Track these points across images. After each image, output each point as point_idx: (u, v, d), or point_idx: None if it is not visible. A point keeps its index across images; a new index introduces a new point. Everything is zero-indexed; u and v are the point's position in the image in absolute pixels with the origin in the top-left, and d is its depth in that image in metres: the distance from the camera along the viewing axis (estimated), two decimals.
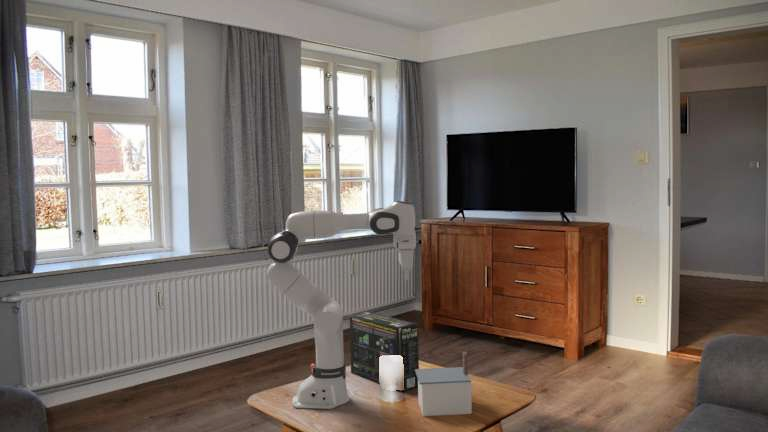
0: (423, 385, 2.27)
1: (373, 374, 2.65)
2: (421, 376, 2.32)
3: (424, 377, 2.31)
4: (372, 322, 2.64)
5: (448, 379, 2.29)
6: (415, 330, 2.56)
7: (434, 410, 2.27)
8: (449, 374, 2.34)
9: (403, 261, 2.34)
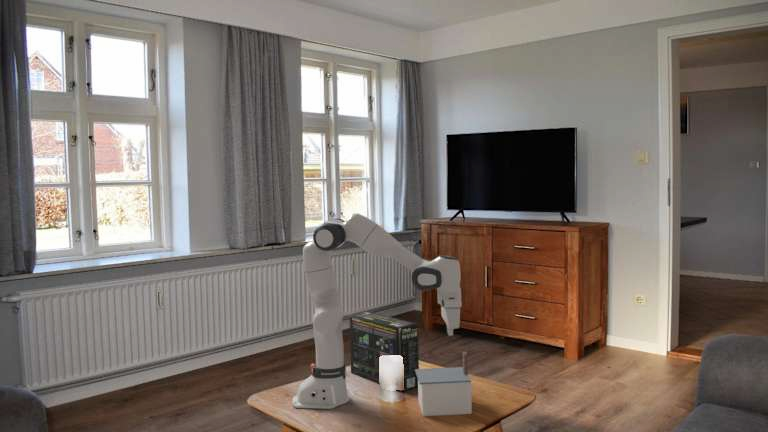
0: (423, 385, 2.27)
1: (373, 374, 2.65)
2: (421, 376, 2.32)
3: (424, 377, 2.31)
4: (372, 322, 2.64)
5: (448, 379, 2.29)
6: (415, 330, 2.56)
7: (434, 410, 2.27)
8: (449, 374, 2.34)
9: (450, 320, 2.23)
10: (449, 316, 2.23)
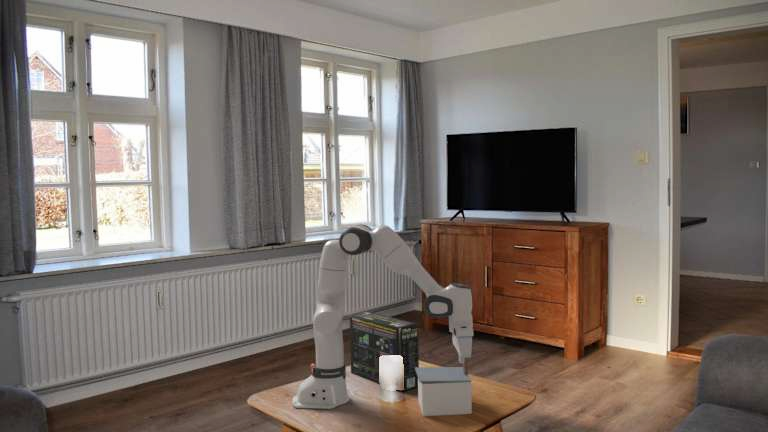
0: (423, 385, 2.27)
1: (373, 374, 2.65)
2: (421, 375, 2.32)
3: (424, 376, 2.31)
4: (372, 322, 2.64)
5: (448, 378, 2.29)
6: (415, 330, 2.56)
7: (434, 410, 2.27)
8: (449, 373, 2.34)
9: (462, 349, 2.24)
10: (461, 345, 2.24)
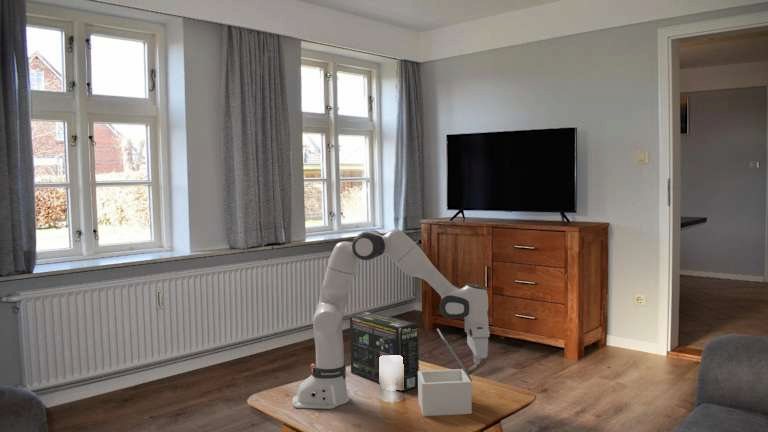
0: (423, 385, 2.27)
1: (373, 374, 2.65)
2: None
3: (445, 341, 2.31)
4: (372, 322, 2.64)
5: None
6: (415, 330, 2.56)
7: (434, 410, 2.27)
8: None
9: (478, 350, 2.24)
10: (477, 346, 2.24)
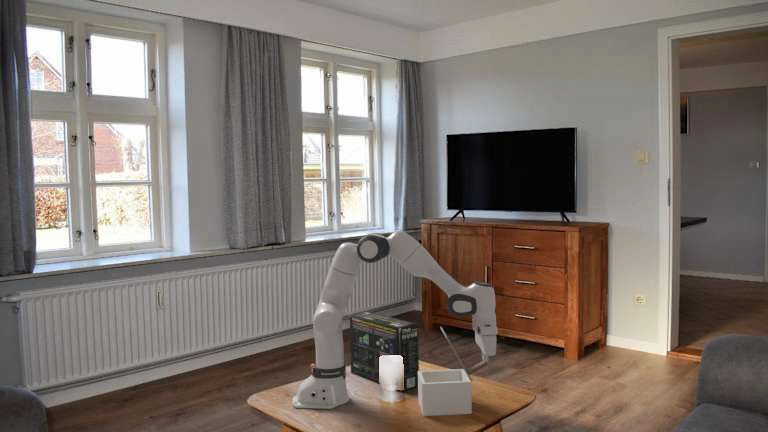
0: (423, 385, 2.27)
1: (373, 374, 2.65)
2: None
3: (448, 339, 2.31)
4: (372, 322, 2.64)
5: None
6: (415, 330, 2.56)
7: (434, 410, 2.27)
8: None
9: (486, 348, 2.24)
10: (486, 343, 2.25)
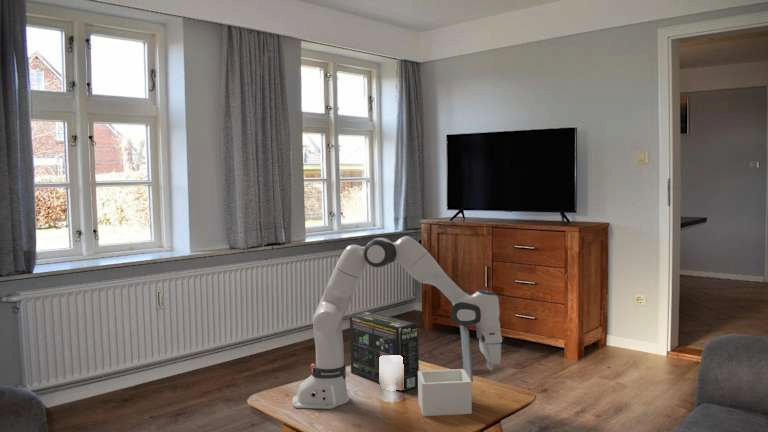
0: (423, 385, 2.27)
1: (373, 374, 2.65)
2: (465, 330, 2.32)
3: (466, 334, 2.31)
4: (372, 322, 2.64)
5: None
6: (415, 330, 2.56)
7: (434, 410, 2.27)
8: (467, 357, 2.34)
9: (491, 356, 2.25)
10: (490, 352, 2.25)
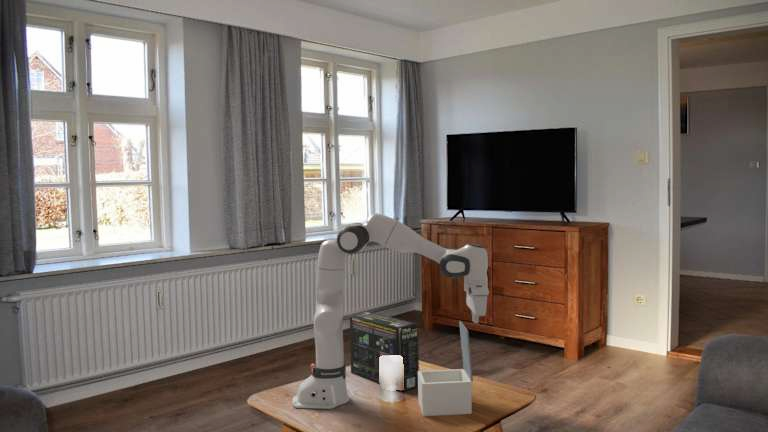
0: (423, 385, 2.27)
1: (373, 374, 2.65)
2: (465, 330, 2.32)
3: None
4: (372, 322, 2.64)
5: None
6: (415, 330, 2.56)
7: (434, 410, 2.27)
8: None
9: (476, 308, 2.26)
10: (476, 303, 2.26)
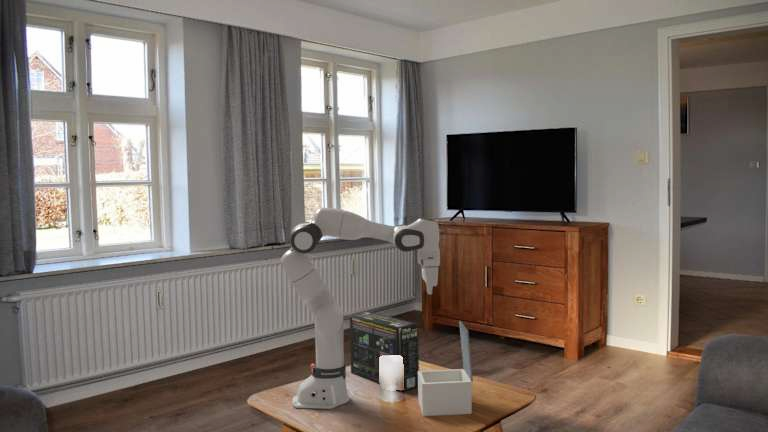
0: (423, 385, 2.27)
1: (373, 374, 2.65)
2: (465, 330, 2.32)
3: None
4: (372, 322, 2.64)
5: None
6: (415, 330, 2.56)
7: (434, 410, 2.27)
8: None
9: (428, 278, 2.35)
10: (428, 274, 2.35)
